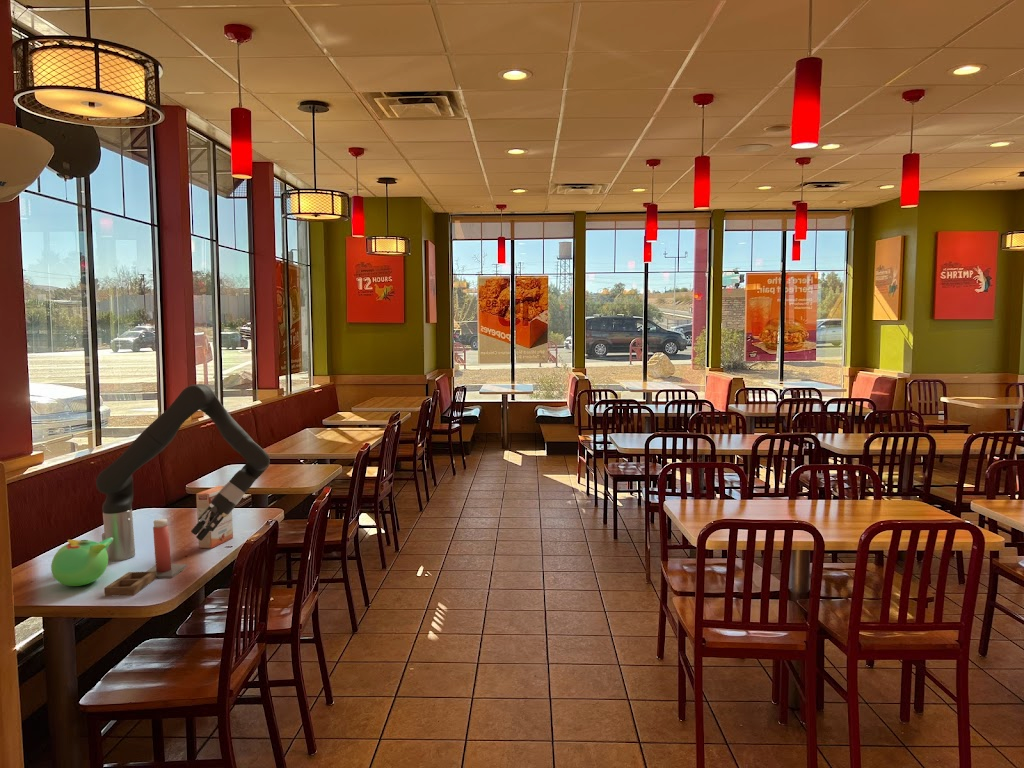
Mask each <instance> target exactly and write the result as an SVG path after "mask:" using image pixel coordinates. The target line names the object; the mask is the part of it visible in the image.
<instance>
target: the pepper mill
mask: <svg viewBox="0 0 1024 768" xmlns="http://www.w3.org/2000/svg"><path fill="white" fill-rule="evenodd" d="M152 529H153V544H154V558H155V559H154V560H155V565H156V572H166V571H169V570H171V565H172V560H171V557H172V556H171V546H170V545H171V544H170V532H169V529H170V527H169V524H168V519H167V518H160V519H159V518H158V519H155V520H154V521H153V527H152Z"/></svg>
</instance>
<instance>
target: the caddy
mask: <svg viewBox="0 0 1024 768" xmlns="http://www.w3.org/2000/svg"><path fill="white" fill-rule="evenodd" d="M155 580H157V578H156V571H154V572H146V571H130V572H129V571H128V572H126V573H125V574H124V575H122V576H121V577H119V578H117V579H116V580H114V581H112V582H110V584H108V585H107V586H105V587H104V588H103V589H104V597H113V596H112V595H119V596H135V595H136V594H138V593H139V592H141V591H142V590H143V589H145V588H146V587H147V586H149V585H150V584H151V583H152V582H155ZM148 584H149V585H148Z"/></svg>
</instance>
